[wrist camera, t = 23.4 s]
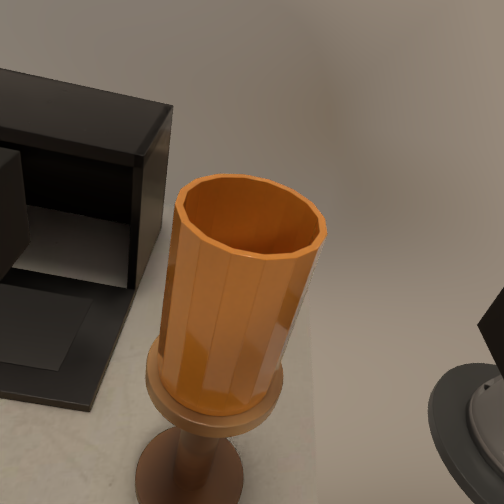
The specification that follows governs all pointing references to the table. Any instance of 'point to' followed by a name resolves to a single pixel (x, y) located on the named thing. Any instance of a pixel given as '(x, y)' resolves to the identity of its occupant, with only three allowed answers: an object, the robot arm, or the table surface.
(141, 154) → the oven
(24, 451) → the table surface
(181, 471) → the copper pedestal stand
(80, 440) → the table surface
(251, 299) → the cup
